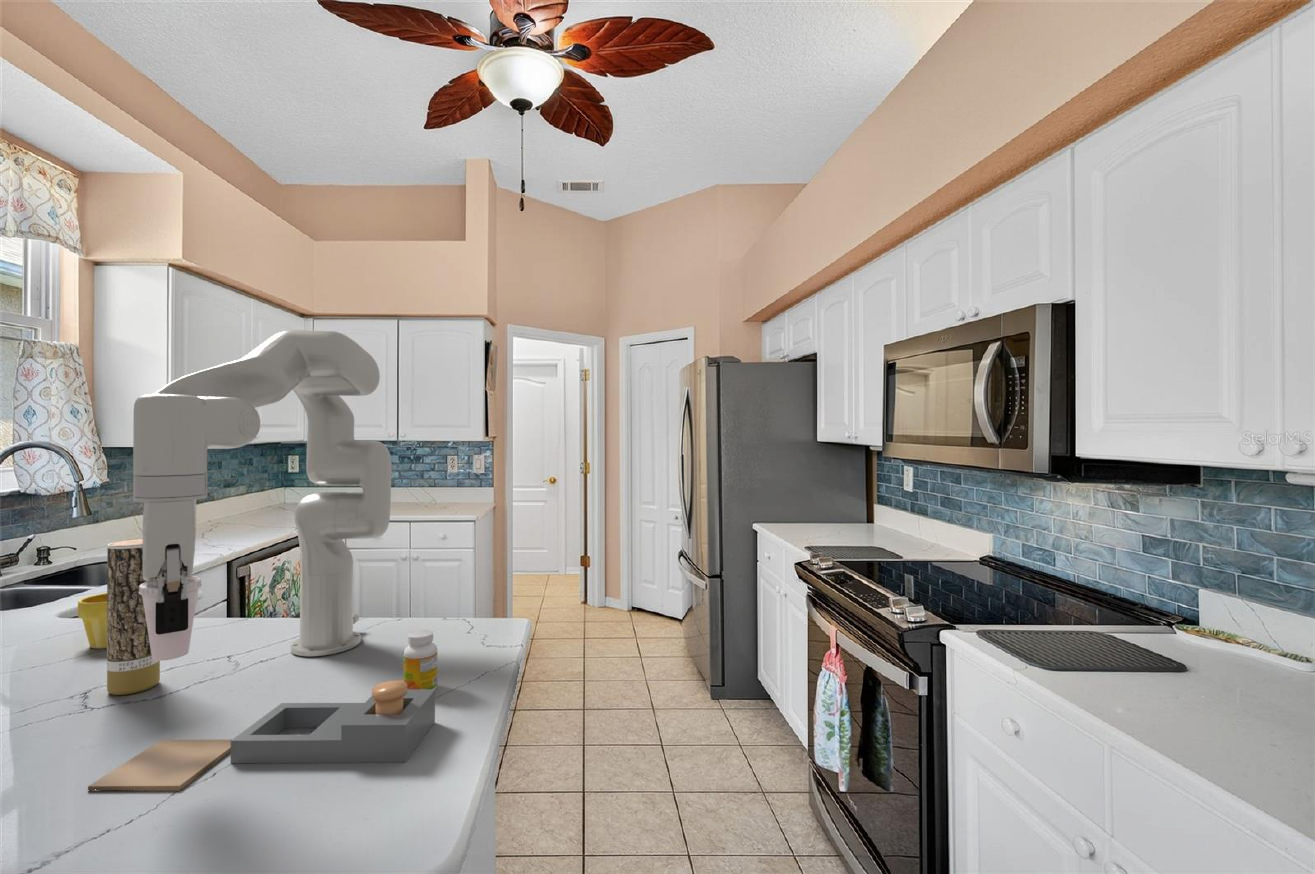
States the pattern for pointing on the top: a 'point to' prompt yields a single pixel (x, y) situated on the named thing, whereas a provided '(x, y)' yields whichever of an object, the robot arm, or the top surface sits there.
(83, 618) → the plant pot
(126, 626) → the bark pattern canister
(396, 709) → the tan mushroom
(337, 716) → the grey holder
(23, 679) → the top surface
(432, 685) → the supplement bottle
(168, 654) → the smoothie
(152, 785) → the mat
